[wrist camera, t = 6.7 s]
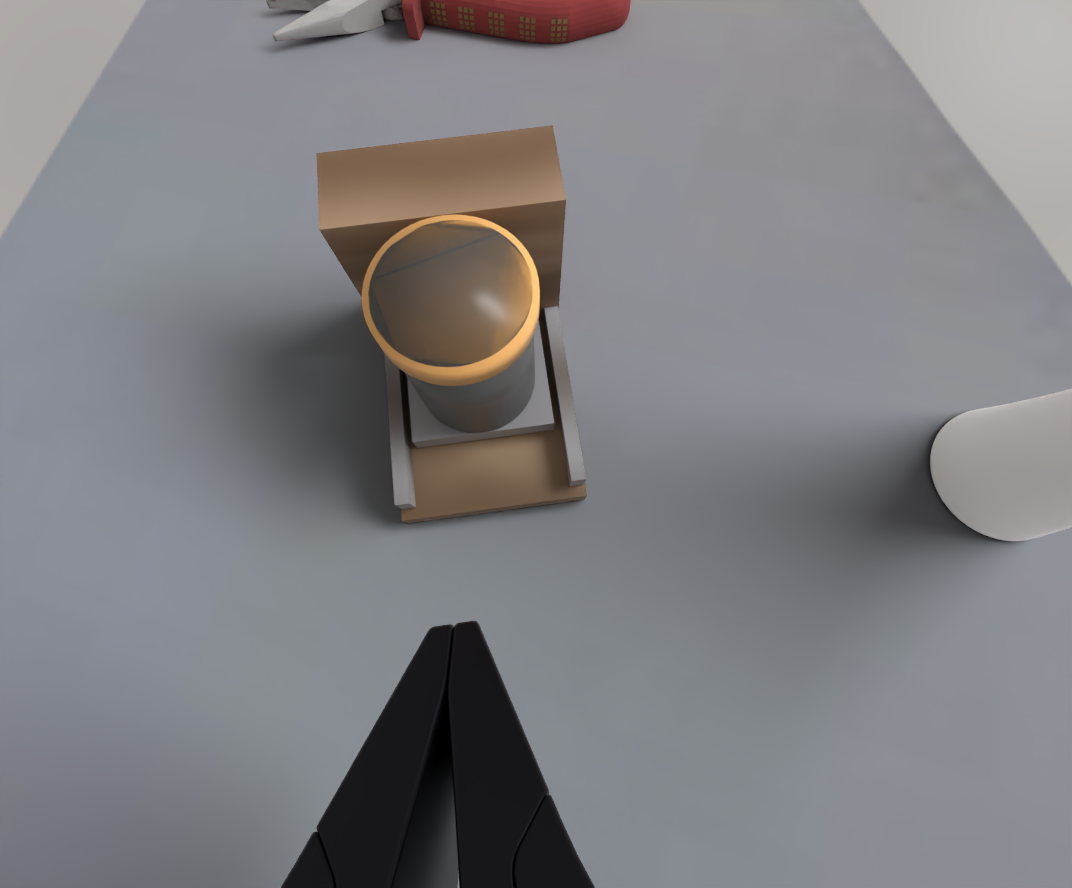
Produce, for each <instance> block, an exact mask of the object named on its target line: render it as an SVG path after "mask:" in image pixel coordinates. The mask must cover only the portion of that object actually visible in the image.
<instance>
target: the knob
mask: <svg viewBox="0 0 1072 888" xmlns="http://www.w3.org/2000/svg"><path fill="white" fill-rule="evenodd" d="M362 308H363V314H364V317H365V320H366V323H367V326H368V328H369V330H370V332H371V334H372V335H373V337H374V338H375V340H376V341H377V343H378V344H379V346H380V347H381V349H382V350H383V352H384V353H385V354H386V356H387V357H388V358H389V359H390V360H391V361H392V363H394V364H395V365H396V366H397V367H398V368H399V369H401V370H402V371H404V372H405V374H406V375H407V380H408V393H409V405H410V418H411V430H412V442H413V443H414V444H415V445H416V447H417V448H422V447H429V446H437V445H444V444H452V443H459V442H467V441H474V440H481V439H489V438H496V437H504V436H511V435H519V434H526V433H534V432H541V431H549V430H554V418H553V411H552V405H551V398H550V392H549V385H548V379H547V372H546V366H545V359H544V353H543V346H542V339H541V333H540V326H539V320H538V319H539V309H540V288H539V278H538V274H537V270H536V267H535V265H534V262H533V260H532V258H531V256H530V254H529V253H528V251H527V250H526V248H525V247H524V246H523V244H522V243H521V242H520V241H519V240H518V239H517V238H516V237H515V236H514V235H512V234H511V233H510V232H508V231H507V230H506V229H504V228H502V227H501V226H499V225H497V224H495V223H493V222H490V221H488V220H485V219H482V218H478V217H474V216H467V215H441V216H436V217H431V218H427V219H424V220H421V221H418V222H416V223H414V224H411V225H409V226H408V227H406V228H404V229H402V230H401V231H399V232H398V233H396V234H395V235H394V236H392V237H391V238H390V239H389V240H388V241H387V242H386V243H385V244H384V245H383V246H382V247H381V248H380V250H379V251H378V252H377V253H376V255H375V256H374V258H373V259H372V261H371V263H370V265H369V267H368V269H367V272H366V275H365V278H364V282H363V288H362Z"/></svg>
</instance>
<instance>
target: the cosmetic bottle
mask: <svg viewBox="0 0 1072 888" xmlns="http://www.w3.org/2000/svg"><path fill="white" fill-rule="evenodd" d="M930 468H931V474H932V479H933V482H934V485H935V487H936V490H937V492H938V494H939V496H940V497H941V499H942V501H943V502H944V503H945V505H946V506H947V508H948V509H949V510H950V511H951V512H952V513H953V514H954V515H955V516H956V517H957V518H958V519H959V520H960V521H962V522H963V523H964V524H966V525H967V526H968V527H970V528H972V529H973V530H975V531H977V532H979V533H981V534H983V535H986V536H989V537H992V538H995V539H1000V540H1006V541H1025V540H1031V539H1034V538H1038V537H1041V536H1044V535H1047V534H1051V533H1054V532H1057V531H1060V530H1064V529H1068V528H1071V527H1072V389H1068V390H1064V391H1061V392H1057V393H1053V394H1049V395H1045V396H1041V397H1037V398H1032V399H1028V400H1023V401H1019V402H1014V403H1009V404H1004V405H999V406H994V407H988V408H983V409H977V410H972V411H968V412H965V413H962V414H960V415H958V416H956V417H954V418H953V419H951V420H950V421H949V422H948V423H946V424H945V425H944V426H943V428H942V429H941V430H940V431H939V433H938V434H937V436H936V438H935V440H934V443H933V446H932V449H931V455H930Z"/></svg>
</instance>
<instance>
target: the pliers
mask: <svg viewBox="0 0 1072 888" xmlns="http://www.w3.org/2000/svg"><path fill="white" fill-rule="evenodd" d="M266 2H267V4H268V6H269V8H275V9H290V10H306V11H310V12H308V13H307V14H305V15H303V16H302V17H300V18H298V19H297V20H295V21H293V22H292V23H290V24H288V25H286V26H285V27H283V28H281V29H280V30H278V31H276V32H275V33H273V34H272V35H273V37H274V39H275V41H284V40H293V39H303V38H312V37H322V36H331V35H341V34H350V33H359V32H364V31H369V30H372V29H375V28H378V27H380V26H383V25H384V21H383V17H384V18H386V19H389V20H398V19H405V23H406V27H407V32H408V36H409V38H412V39H417V40H420V38H421V35H422V32H423V30H424V27H425V24H429V25H435V26H440V27H446V28H452V29H457V30H463V31H468V32H474V33H480V34H485V35H491V36H497V37H502V38H508V39H513V40H519V41H525V42H533V43H554V44H557V43H568V42H572V41H576V40H580V39H583V38H587V37H591V36H594V35H598V34H602V33H605V32H609V31H613V30H616V29H618V28H620V27H621V26H622V25H623V24H624V23H625V21H626V19H627V17H628V14H629V10H630V0H267V1H266Z"/></svg>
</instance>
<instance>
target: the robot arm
mask: <svg viewBox="0 0 1072 888" xmlns="http://www.w3.org/2000/svg"><path fill="white" fill-rule="evenodd" d="M317 831H318V832H313V833H312V835H311V837H310V839H309V840H308V842H307V844H306V846H305V848H304V849H303V851H302V853H301V855H300V856H299V858H298V860H297V862H296V863H295V865H294V867H293V868H292V870H291V872H290V873H289V875H288V877H287V878H286V880H285V882H284V883H283V885H282V887H281V888H457V885H458V871H459V885H460V888H595V887H594V885H593V883H592V881H591V879H590V877H589V876H588V874H587V872H586V870H585V868H584V866H583V864H582V863H581V861H580V859H579V857H578V855H577V853H576V851H575V848H574V846H573V844H572V842H571V840H570V838H569V835H568V833H567V831H566V829H565V827H564V825H563V822H562V820H561V818H560V815H559V813H558V811H557V808H556V806H555V804H554V801H553V799H552V797H551V795H549V790H548V787H547V785H546V783H545V780H544V778H543V776H542V773H541V771H540V768H539V766H538V764H537V761H536V759H535V757H534V754H533V752H532V749H531V747H530V745H529V742H528V740H527V738H526V735H525V733H524V730H523V728H522V726H521V723H520V721H519V719H518V716H517V714H516V711H515V709H514V707H513V704H512V702H511V700H510V697H509V695H508V692H507V690H506V688H505V685H504V683H503V680H502V678H501V676H500V673H499V671H498V669H497V666H496V664H495V661H494V659H493V657H492V654H491V652H490V650H489V647H488V645H487V642H486V640H485V638H484V635H483V633H482V631H481V628H480V626H479V624H478V622H477V621H469V622H462V623H457V624H456V625H455V627H454V626H453V625H450V624H449V625H442V626H436V627H432V628H431V629H430V630H429V631H428V632H427V634H426V636H425V638H424V639H423V641H422V643H421V645H420V646H419V648H418V650H417V652H416V653H415V655H414V657H413V659H412V660H411V662H410V664H409V666H408V667H407V669H406V671H405V673H404V674H403V676H402V678H401V680H400V681H399V683H398V685H397V687H396V688H395V690H394V692H393V694H392V695H391V697H390V699H389V701H388V702H387V704H386V706H385V708H384V709H383V711H382V713H381V715H380V717H379V718H378V720H377V722H376V724H375V725H374V727H373V729H372V731H371V732H370V734H369V736H368V738H367V739H366V741H365V743H364V745H363V746H362V748H361V750H360V752H359V753H358V755H357V757H356V759H355V760H354V762H353V764H352V766H351V767H350V769H349V771H348V773H347V774H346V776H345V778H344V780H343V781H342V783H341V785H340V787H339V788H338V790H337V792H336V794H335V795H334V797H333V799H332V801H331V802H330V804H329V806H328V808H327V809H326V811H325V813H324V815H323V816H322V818H321V820H320V822H319V823H318V825H317Z"/></svg>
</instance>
